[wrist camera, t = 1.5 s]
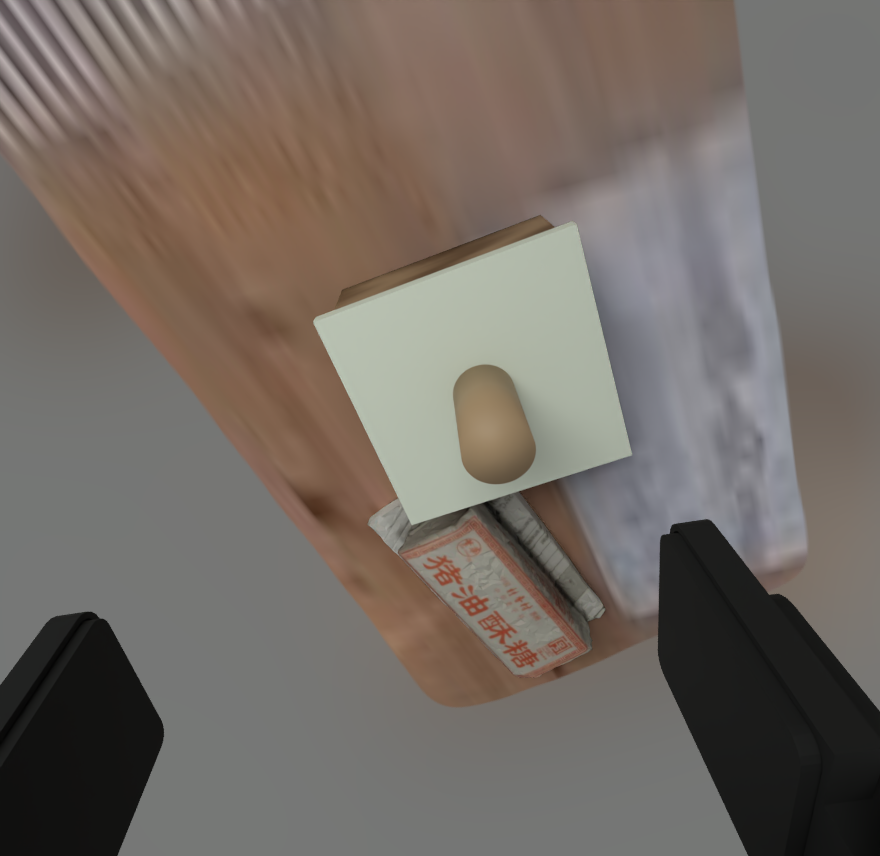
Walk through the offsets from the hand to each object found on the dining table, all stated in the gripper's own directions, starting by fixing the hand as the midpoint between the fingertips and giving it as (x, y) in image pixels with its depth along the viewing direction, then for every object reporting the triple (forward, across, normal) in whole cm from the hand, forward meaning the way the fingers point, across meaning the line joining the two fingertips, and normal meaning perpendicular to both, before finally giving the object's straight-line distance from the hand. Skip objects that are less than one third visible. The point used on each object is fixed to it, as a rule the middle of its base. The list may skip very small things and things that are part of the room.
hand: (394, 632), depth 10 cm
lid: (+21, -3, +5) cm, 22 cm away
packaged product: (+29, -3, +22) cm, 36 cm away
